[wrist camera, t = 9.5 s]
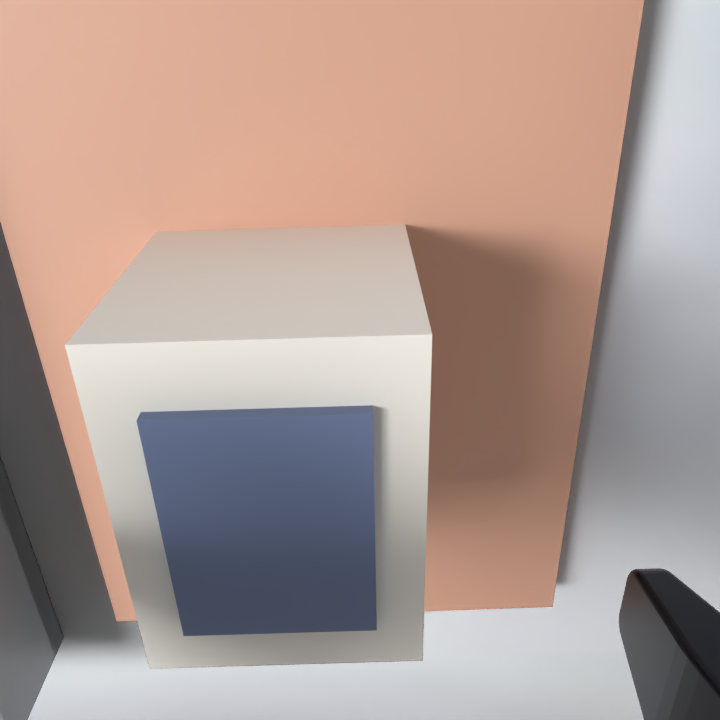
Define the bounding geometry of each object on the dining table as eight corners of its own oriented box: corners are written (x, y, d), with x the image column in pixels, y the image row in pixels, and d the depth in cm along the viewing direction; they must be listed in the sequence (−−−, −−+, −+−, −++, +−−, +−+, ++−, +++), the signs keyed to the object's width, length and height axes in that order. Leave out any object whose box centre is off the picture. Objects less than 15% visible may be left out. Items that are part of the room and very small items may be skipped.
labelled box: (402, 486, 15) (424, 670, 11) (201, 491, 15) (146, 679, 11) (405, 224, 12) (434, 341, 8) (156, 231, 12) (58, 352, 8)
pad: (544, 582, 18) (552, 606, 17) (125, 596, 18) (116, 621, 17) (630, -35, 11) (649, -37, 10) (-42, -12, 11) (-69, -13, 10)
